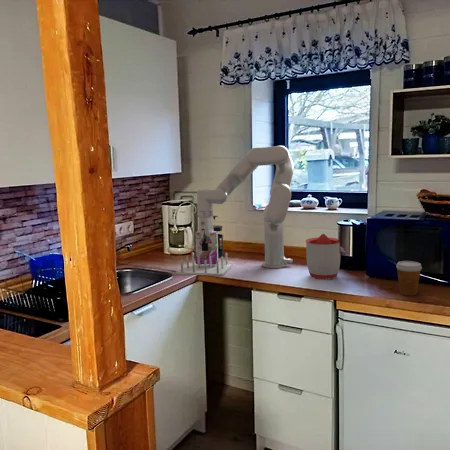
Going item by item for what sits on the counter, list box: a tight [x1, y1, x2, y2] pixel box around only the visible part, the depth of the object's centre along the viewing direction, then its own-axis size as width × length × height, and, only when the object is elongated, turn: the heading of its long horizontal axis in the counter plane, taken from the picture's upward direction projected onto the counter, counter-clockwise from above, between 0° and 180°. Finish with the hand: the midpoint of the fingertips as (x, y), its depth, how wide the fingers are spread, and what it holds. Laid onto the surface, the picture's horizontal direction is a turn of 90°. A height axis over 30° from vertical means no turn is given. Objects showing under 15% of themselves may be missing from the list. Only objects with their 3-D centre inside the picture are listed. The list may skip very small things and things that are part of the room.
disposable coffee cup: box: [396, 260, 423, 296], centre depth 181 cm, size 10×10×12 cm
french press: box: [212, 215, 225, 259], centre depth 257 cm, size 12×9×23 cm
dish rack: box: [175, 251, 234, 277], centre depth 228 cm, size 24×19×7 cm
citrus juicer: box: [305, 233, 346, 280], centre depth 208 cm, size 16×17×20 cm
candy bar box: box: [194, 230, 219, 264], centre depth 231 cm, size 11×5×16 cm, turn 84°
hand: (206, 249), depth 231 cm, fingers closed on candy bar box, 5 cm apart
